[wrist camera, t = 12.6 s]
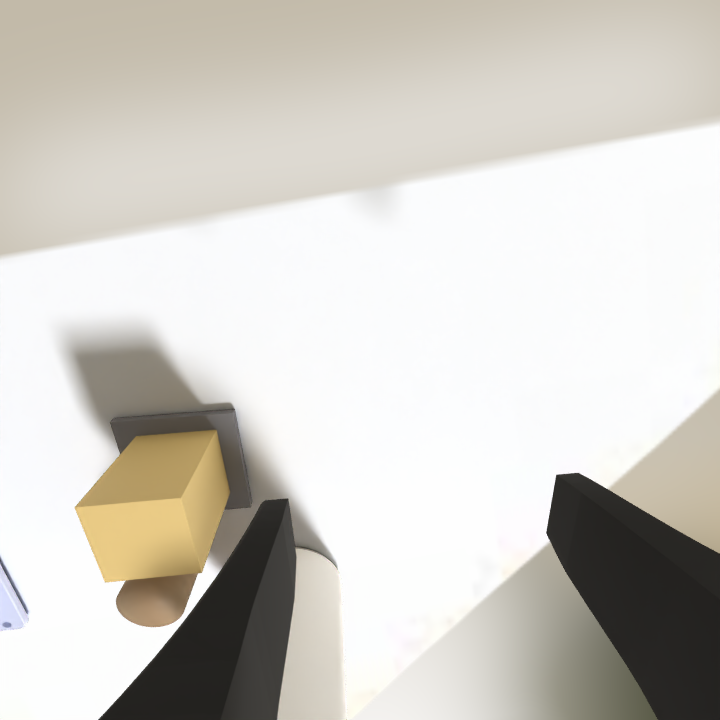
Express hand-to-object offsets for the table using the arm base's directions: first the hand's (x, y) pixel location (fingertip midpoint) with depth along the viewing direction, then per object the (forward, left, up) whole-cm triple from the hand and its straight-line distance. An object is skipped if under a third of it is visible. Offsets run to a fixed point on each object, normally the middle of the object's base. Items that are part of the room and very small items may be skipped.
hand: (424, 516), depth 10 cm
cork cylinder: (-12, -10, -10) cm, 18 cm away
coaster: (-10, -4, -10) cm, 15 cm away
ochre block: (-10, -4, -10) cm, 15 cm away
